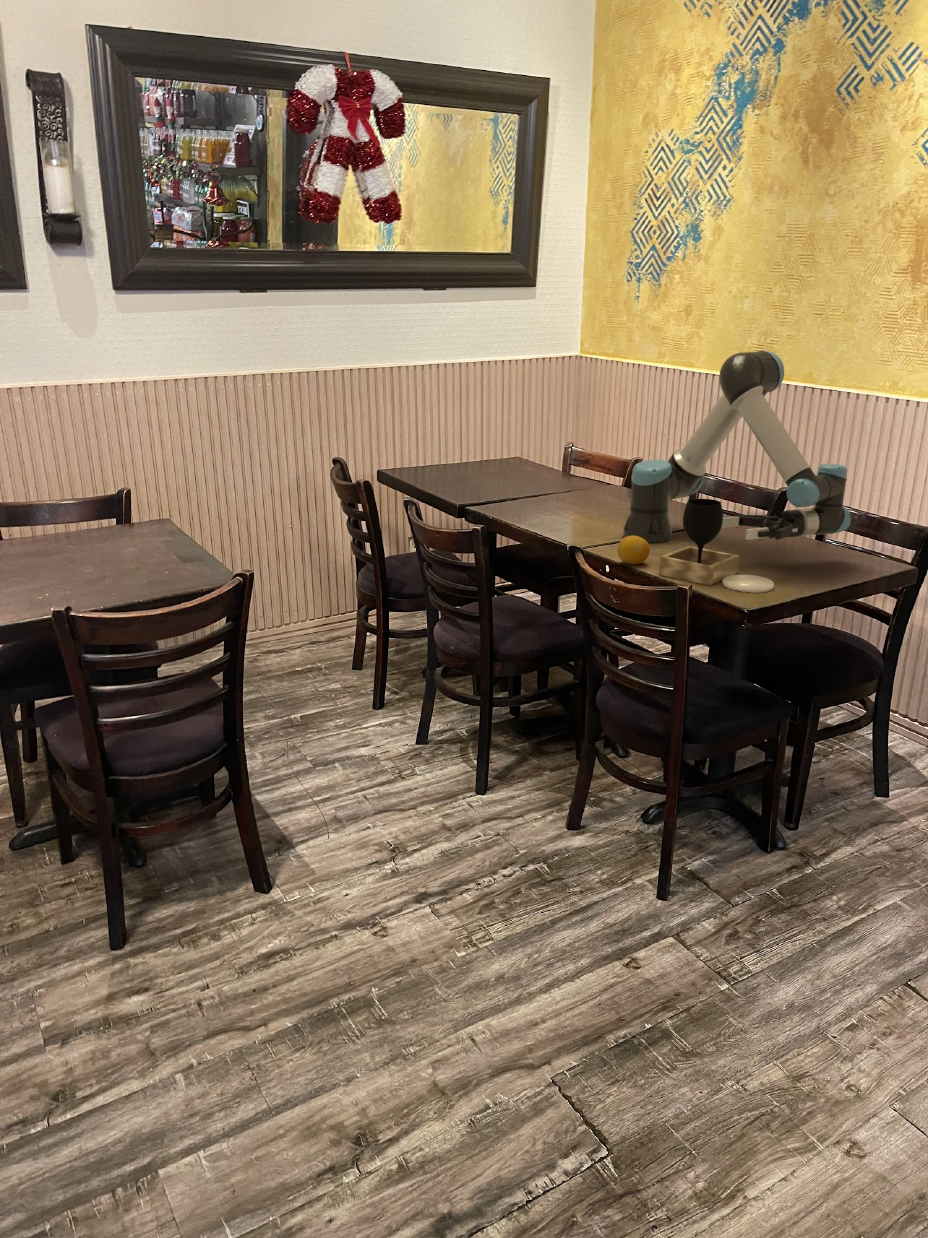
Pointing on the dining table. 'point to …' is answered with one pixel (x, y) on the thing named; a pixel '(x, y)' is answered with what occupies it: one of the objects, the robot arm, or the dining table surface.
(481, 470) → the dining table surface
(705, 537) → the wine glass
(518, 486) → the dining table surface
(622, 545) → the fruit
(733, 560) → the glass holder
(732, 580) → the plate
